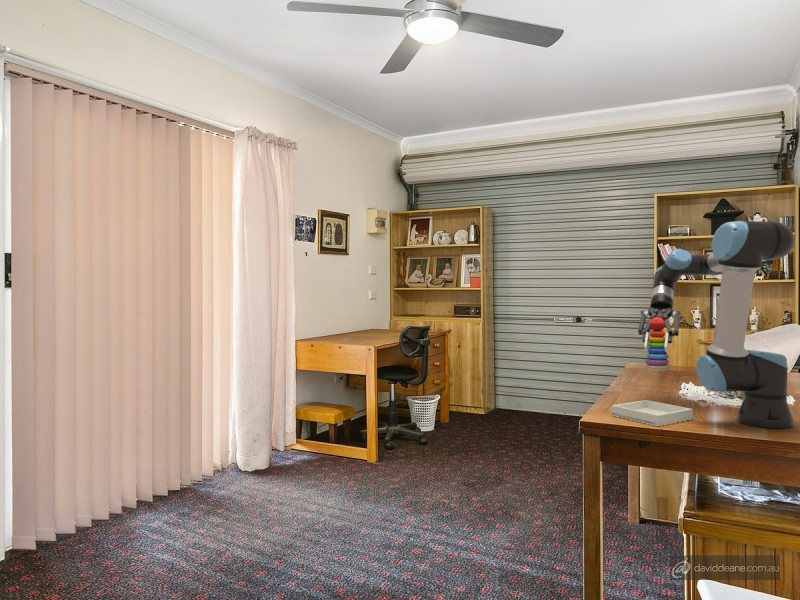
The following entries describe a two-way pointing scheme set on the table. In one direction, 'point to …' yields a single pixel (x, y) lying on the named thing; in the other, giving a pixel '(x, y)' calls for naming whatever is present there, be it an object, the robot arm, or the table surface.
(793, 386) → the table surface
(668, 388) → the table surface
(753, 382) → the robot arm
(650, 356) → the stacking toy
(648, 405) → the tray
